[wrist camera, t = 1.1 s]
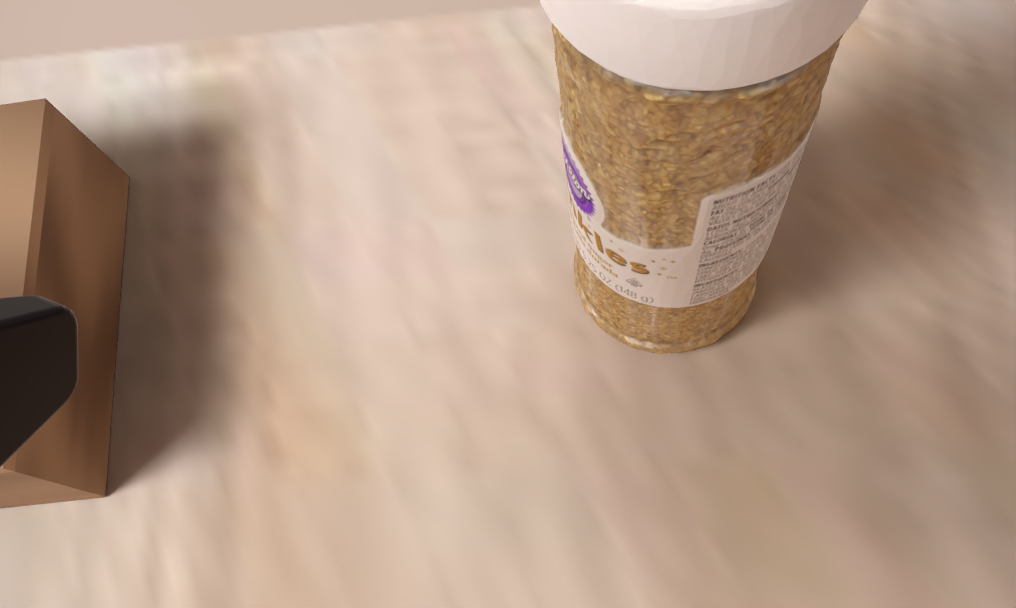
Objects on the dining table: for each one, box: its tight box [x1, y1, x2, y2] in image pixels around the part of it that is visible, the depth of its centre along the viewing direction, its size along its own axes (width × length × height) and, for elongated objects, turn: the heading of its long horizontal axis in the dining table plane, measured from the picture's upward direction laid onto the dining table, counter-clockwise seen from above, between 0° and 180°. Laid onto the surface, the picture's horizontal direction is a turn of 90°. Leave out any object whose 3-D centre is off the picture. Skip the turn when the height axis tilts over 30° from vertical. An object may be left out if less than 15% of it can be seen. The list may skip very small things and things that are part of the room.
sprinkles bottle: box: [539, 0, 867, 353], centre depth 17 cm, size 5×5×14 cm
